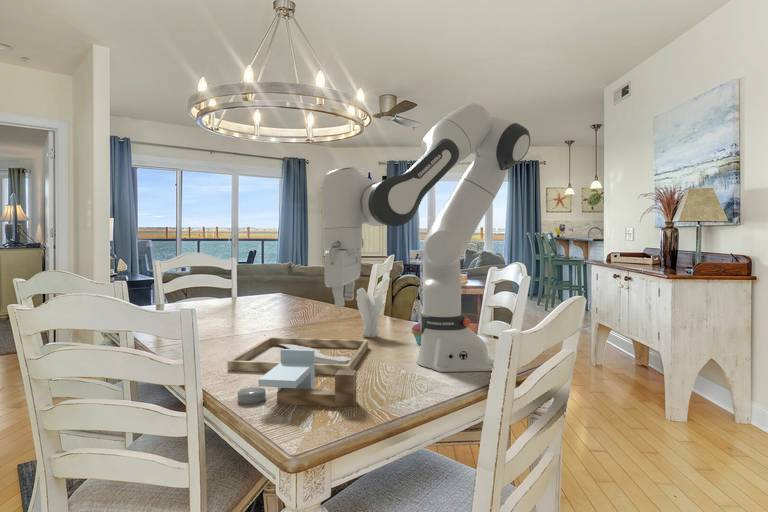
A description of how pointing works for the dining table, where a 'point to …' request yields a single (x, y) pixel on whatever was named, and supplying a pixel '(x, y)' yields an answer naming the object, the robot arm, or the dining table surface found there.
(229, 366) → the wooden frame
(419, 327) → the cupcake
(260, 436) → the dining table surface
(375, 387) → the dining table surface
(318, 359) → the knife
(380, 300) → the shell sculpture
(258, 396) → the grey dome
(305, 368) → the shelf
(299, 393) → the brown l-shaped block
